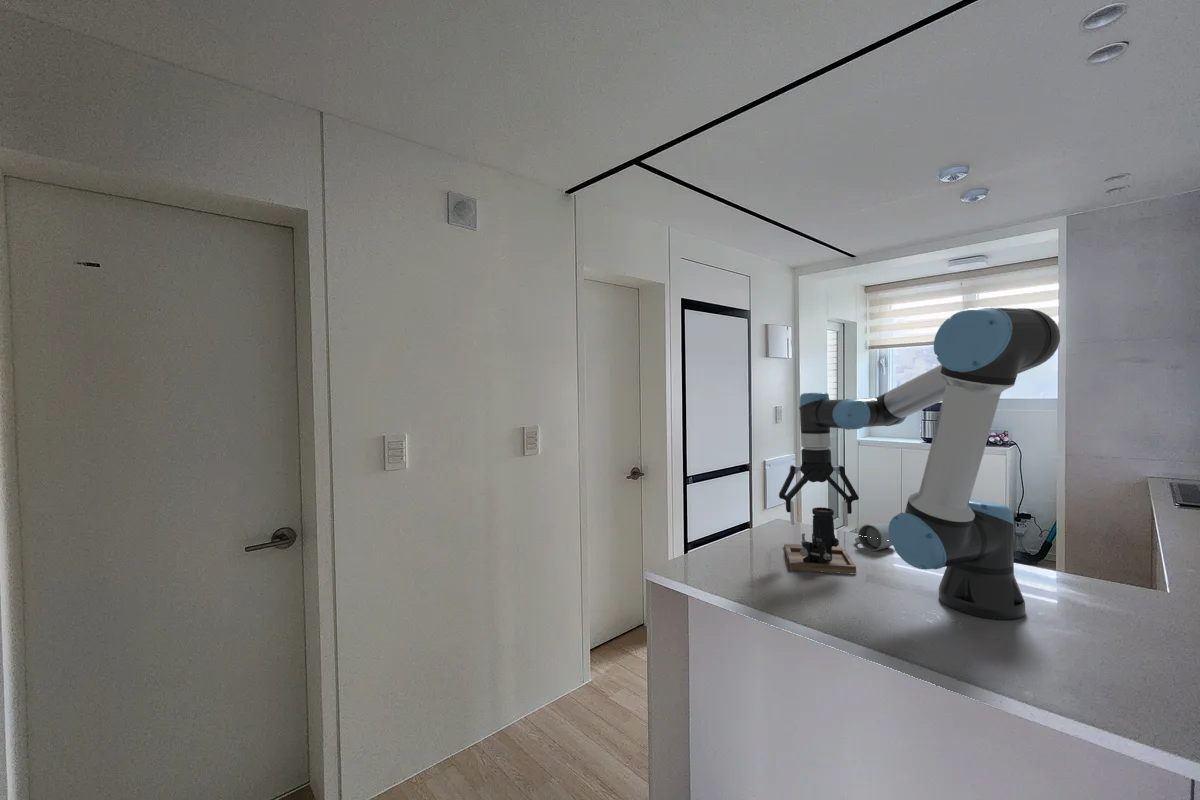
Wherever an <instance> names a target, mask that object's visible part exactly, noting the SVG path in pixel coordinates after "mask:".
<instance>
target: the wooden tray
mask: <svg viewBox="0 0 1200 800" xmlns="http://www.w3.org/2000/svg"><path fill="white" fill-rule="evenodd" d="M801 549H802V544H800V543H799V544H795V543H784V550H785V555H786V554H787V555H786V558H787V561H788V565H789V569H791V570H790V571H795V570H799V571H798V572H811V571H823V572H822V573H827V572H840V573H839V574H843V573H856V574H857V566H856V564H855V563H854V561H853V559H852V557H851V556H850V554H849V553H848V552H847V550H846V549H844V548H843V547H842V546H839V545H838V546H837V547H834V546H833V547H832V561H828V562H826V564H823V563H818V562H816V563H811V562H810V563H806V562H803V558H805V556H802V555H801V554H800V550H801ZM806 557H807V556H806Z"/></svg>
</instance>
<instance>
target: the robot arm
mask: <svg viewBox="0 0 1200 800" xmlns="http://www.w3.org/2000/svg"><path fill="white" fill-rule="evenodd" d="M1060 342H1061V332H1060V328H1059V326H1058V325H1057V323H1056V321H1055V320H1054V319H1053V318H1052V317H1051V316H1049V315H1048V314H1046V313H1045V312H1042V311H1040V310H1036V309H1032V308H1023V307H1022V308H1018V307H1017V308H1013V307H1012V308H1009V307H993V306H987V307H986V306H980V307H975V308H974V307H973V308H967V309H963V310H960V311H958V312H955V313H954V314H953V315H951V316H949V317H948V318H947V319H945V320H944V321H943V323H942V324H941V325H940V326H939V328H938V329H937V332H936V333H935V336H934V339H933V352H934V355H936V356H937V357H936V360H937V362H938V363H939V364H940V365H938V366H936V367H934V368H932V369H930V370H927V371H926V372H924V373H922V374H920V375H918V376H916V377H914V378H912V379H910V380H909V381H906V382H905V383H902V384H900V385H898V386H897V387H894V388H892V389H891V390H889V391H887V392H885V393H883V394H880V395H879V396H876V397H868V398H867V397H866V398H845V399H830V395H829V393H828V392H804V393H801V394H800V396H799V407H798V409H799V419H800V420H799V421H800V445H801V446H800V447H802V449H801V452H800V453H801V465H800V466H799V465H794V464H790V466H789V473H788V474H787V477H786V479H785V481H784V482H783V485H782V487H781V489H780V491H779V493H778V497H779V499H780V500H785V510H786V513H789V515H790V520H789V521H790V524H791V526H795V507H794V506H795V504H794V500H793V498H794V497H795V496H796V495H797V494H798V492H799V491H800V490H801V489H802V488H803V487H804V485H806V484H807V483H808V482H811V483H817V482H819V483H824V482H826V481H827V482H828V483H829V484H830V485H831V486H832V487H833V488H834V489H835V490H836V491H837V493H839V494H840V496H842V498H843V499H844V500H841V502H842V506H841V507H842V525H843V526H844V527H845V528H848V527H849V523H848V522H849V519H848V518H849V517H848V515H849V514H850V515H851V514H852V512H853V511H852V503H853V502H854V501H858V500H859V495H858V494H857V492H856V490H855V488H854V486H853V485H852V483H851V481H850V479H849V478H848V476H847V475H846V470H845V467H844V466H843V465H842V464H838V465H835V466H833V465H832V451H831V449H830V448H831V446H832V445H831V444H832V443H831V428H832V429H842V430H848V431H849V430H860V429H863V428H869V427H870V428H871V427H892V426H897V425H899V424H902V423H903V422H904V421H905V419H906V418H907V417H908V416H910V415H912V414H915V413H918V412H920V411H922V410H924V409H926V408H930V407H931V406H934V405H936V404H938V403H941V405H940V408H939V412H938V417H937V421H936V423H935V424H936V425H935V428H934V433H933V436H932V440H931V445H930V447H929V452H928V455H927V459H926V460H927V461H926V464H925V468H924V472H923V475H922V479H921V483H920V488H919V491H917V492H914V493H912V494H910V495H909V496H908V499H907V503H906V507H905V509H904V510H905V511H904V512H900V513H898V514H896V515H894V516H893V517H892V518H891V519H890V521H889V524H888V525H889V529H888V532H889V538H890V541H891V544H892V546H893V548H894V551H895V553H896V554H897V555H898V557H900V559H902V560H903V561H904V562H905V563H907V564H908V565H909V566H911V567H913V568H916V569H919V570H939V569H943V568H945V567H946V568H945V570H944V573H943V575H942V578H941V580H940V583H939V585H938V598H939V600H940V602H942V603H943V604H944V605H946V606H948V607H950V608H952V609H954V610H955V611H957V612H958V611H959V612H962V613H965V614H968V615H972V616H974V617H975V616H976V617H980V618H983V619H984V618H985V619H991V620H992V619H994V620H1016V619H1020V618H1023V617H1024V616H1025V615H1026V602H1025V598H1024V596H1023V594H1022V592H1021V589H1020V587H1019V583H1018V582H1017V579H1016V577H1015V570H1014V566H1015V565H1014V563H1015V562H1014V561H1015V560H1014V557H1015V556H1014V555H1015V554H1014V526H1015V522H1014V521H1013V520H1014V517H1013V511H1012V509H1011V508H1010V507H1009V506H1007V505H1005V504H1002V503H999V502H994V501H989V500H982V499H978V498H977V499H976V498H971V497H972V494H973V490H974V488H975V483H976V480H977V477H978V475H979V474H978V473H979V470H980V466H981V463H982V460H983V456H984V452H985V449H986V445H987V442H988V440H989V435H990V433H991V429H992V425H993V422H994V418H995V415H996V412H997V408H998V404H999V401H1000V398H1001V395H1002V393H1003V392H1004V391H1006V390H1008V389H1010V388H1012V387H1014V386H1015V384H1016V381H1017V377H1018V375H1019V374H1021V373H1023V372H1026V371H1028V370H1031V369H1033V368H1036V367H1038V366H1040V365H1042V364H1044V363H1046V362H1047V361H1048V360H1050V359H1051V358H1052V357H1053V356H1054V355H1055V353H1056V351H1057V350H1058V347H1059V345H1060ZM799 472H801V473H802V474H803V475H802V477H801V478H800V479H799V480H798V481H797V483H795V485H794V486H793V487H792V488H791V490H789V487H790V486H791V484H792V482H793V480H794V477H795V475H796V474H798V473H799ZM833 472H835V473H836V474H837V475H839V476H840V479H842V482H843V484H844V485H845V487H846V489H847V490H848V493H849V494H850V495H848V494H847V493H846V492H845V490H843V489H842V487H841V486H840V485H839V484H838V483H836V481H835V480H834V479H833V478H832V477H831V475H832V474H833ZM788 490H789V492H788ZM787 492H788V493H787Z"/></svg>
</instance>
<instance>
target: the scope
mask: <svg viewBox="0 0 1200 800" xmlns="http://www.w3.org/2000/svg"><path fill="white" fill-rule="evenodd" d="M811 512H812V514H813V515H812V533H811V541H806V538H805V536H806V533H805V532H803V533H801V541H800V543H801V545H802V549H801V550H800V554H801V555H802V556H805V558H803V562H806V563H810V562H811V563H816V562H818V563H823V564H826V562H828V561H832V547H833V546H834V547H837V546H839V545H840V541H839V539H838V538H836V535H835V525H834V524H835V523H834V522H835V521H834V517H833V516H834V515H835V513H834V512H835V511H834V509H832V508H829V507H820V506H819V507H813V508H812V510H811ZM806 556H807V557H806Z"/></svg>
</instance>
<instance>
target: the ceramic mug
mask: <svg viewBox="0 0 1200 800" xmlns="http://www.w3.org/2000/svg"><path fill="white" fill-rule="evenodd" d="M888 529H889V524H888V523H883V522H877V523H868V524H864V525H862V526H861V527H860V528H859V529H858V534H857V536H858V537H856V538H854V541H855V543H856V544H861V546H862V547H863V548H864V549H865V550H867V549H868V550H867V551H870V550H871V552H875V551H876V552H877V551H880V550H884V549H887V548H890V547H892V546H893V545H892V544H891V541H890V538H889V532H888ZM859 535H861V536H859ZM862 536H863V537H862ZM864 536H867V537H864ZM870 537H871V538H870ZM877 538H878V539H877ZM887 540H889V541H887Z"/></svg>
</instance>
